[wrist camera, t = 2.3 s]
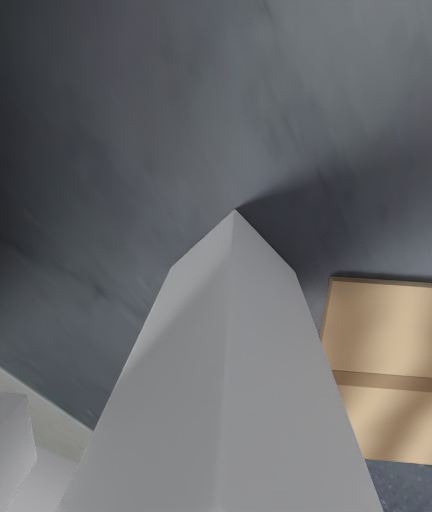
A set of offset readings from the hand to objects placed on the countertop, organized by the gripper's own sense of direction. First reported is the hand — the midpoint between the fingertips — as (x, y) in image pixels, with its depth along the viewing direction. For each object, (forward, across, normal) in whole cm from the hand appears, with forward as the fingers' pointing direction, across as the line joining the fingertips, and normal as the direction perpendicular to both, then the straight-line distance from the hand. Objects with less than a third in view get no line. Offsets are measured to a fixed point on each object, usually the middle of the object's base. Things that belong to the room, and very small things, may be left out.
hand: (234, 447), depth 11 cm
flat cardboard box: (+14, +14, -7) cm, 21 cm away
